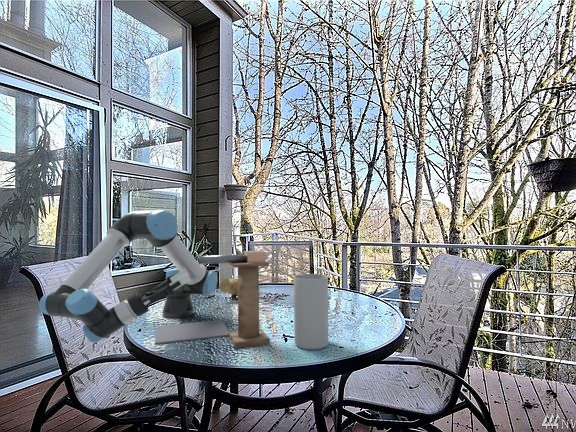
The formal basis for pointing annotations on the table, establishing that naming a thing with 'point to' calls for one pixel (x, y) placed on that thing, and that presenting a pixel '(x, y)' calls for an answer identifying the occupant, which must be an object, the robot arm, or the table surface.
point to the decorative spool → (229, 286)
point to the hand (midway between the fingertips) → (188, 274)
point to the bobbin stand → (248, 307)
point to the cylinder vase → (311, 311)
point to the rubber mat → (190, 331)
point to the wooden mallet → (235, 258)
